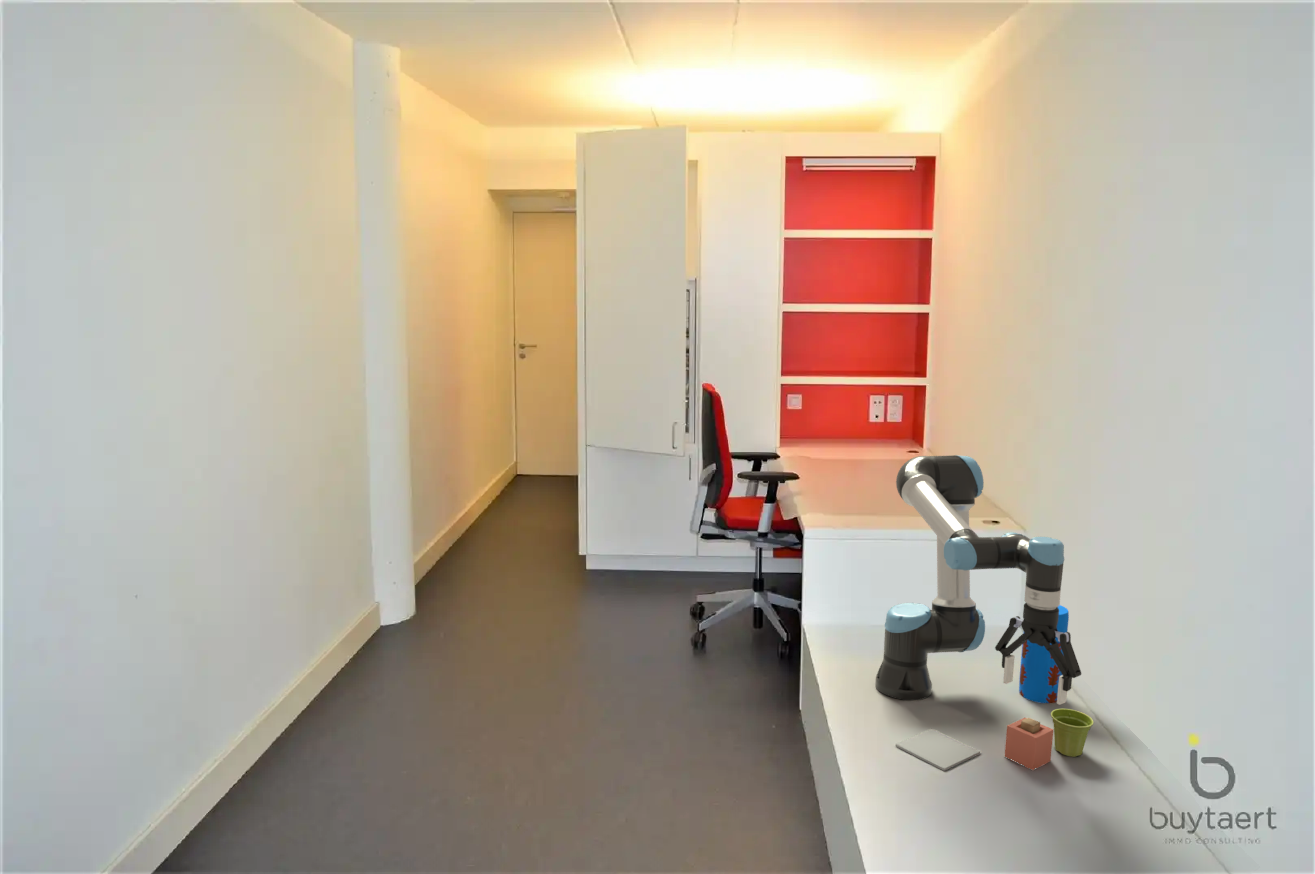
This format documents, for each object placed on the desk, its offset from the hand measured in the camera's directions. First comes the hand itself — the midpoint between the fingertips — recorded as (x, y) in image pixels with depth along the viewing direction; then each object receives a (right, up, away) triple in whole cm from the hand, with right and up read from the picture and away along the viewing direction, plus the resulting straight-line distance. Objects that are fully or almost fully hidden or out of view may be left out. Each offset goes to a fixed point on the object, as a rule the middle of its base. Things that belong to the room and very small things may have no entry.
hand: (1034, 692), depth 215 cm
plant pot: (+11, -16, +7) cm, 21 cm away
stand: (0, -17, +3) cm, 17 cm away
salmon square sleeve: (0, -17, +3) cm, 17 cm away
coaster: (-21, -16, +6) cm, 27 cm away
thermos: (+17, -11, +38) cm, 43 cm away
